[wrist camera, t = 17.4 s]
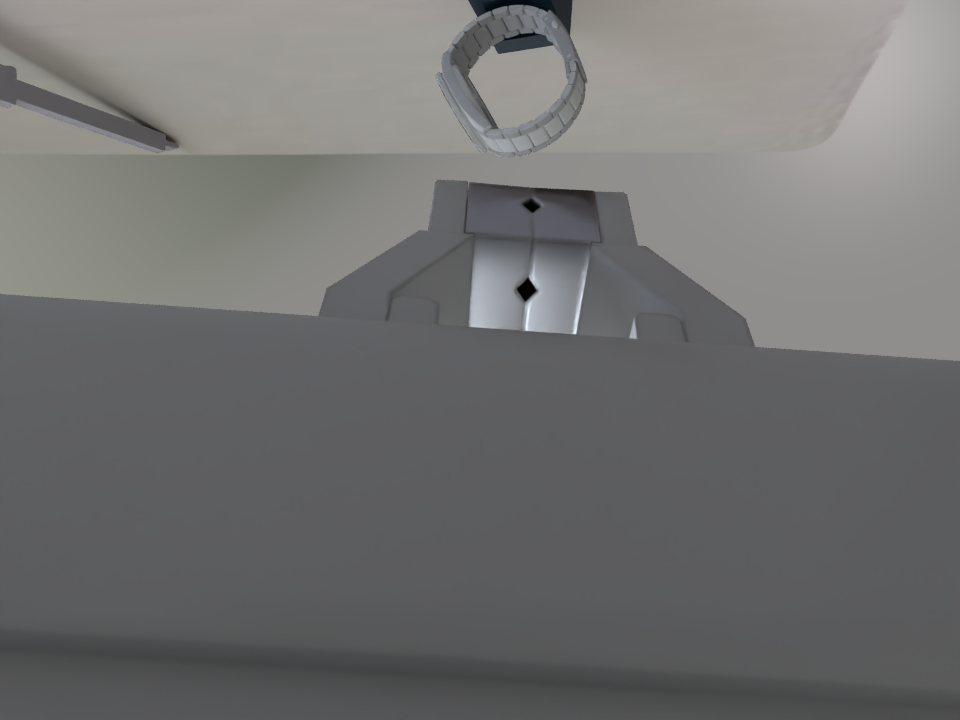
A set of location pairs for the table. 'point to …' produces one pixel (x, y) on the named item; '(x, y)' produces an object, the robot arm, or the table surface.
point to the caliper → (77, 113)
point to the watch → (508, 27)
